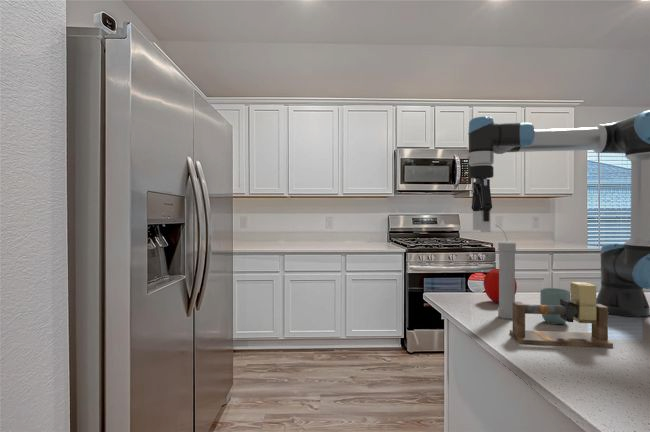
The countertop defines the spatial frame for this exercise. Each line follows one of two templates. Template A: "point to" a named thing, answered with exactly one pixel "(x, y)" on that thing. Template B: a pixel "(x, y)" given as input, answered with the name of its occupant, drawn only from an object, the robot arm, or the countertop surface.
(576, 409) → the countertop surface
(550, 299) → the cup
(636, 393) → the countertop surface
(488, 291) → the tomato
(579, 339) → the rail
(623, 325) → the countertop surface
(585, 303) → the sleeve
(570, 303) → the dark grey square ring
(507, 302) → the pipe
